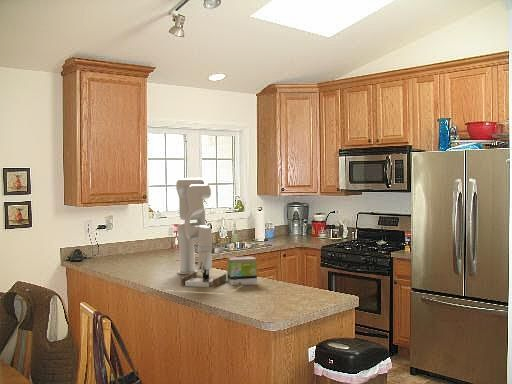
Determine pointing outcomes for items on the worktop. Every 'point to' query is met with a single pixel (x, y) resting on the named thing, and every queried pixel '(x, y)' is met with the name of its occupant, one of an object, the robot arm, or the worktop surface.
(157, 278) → the worktop surface
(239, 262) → the tea box
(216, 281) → the walnut case
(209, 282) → the cover plate
